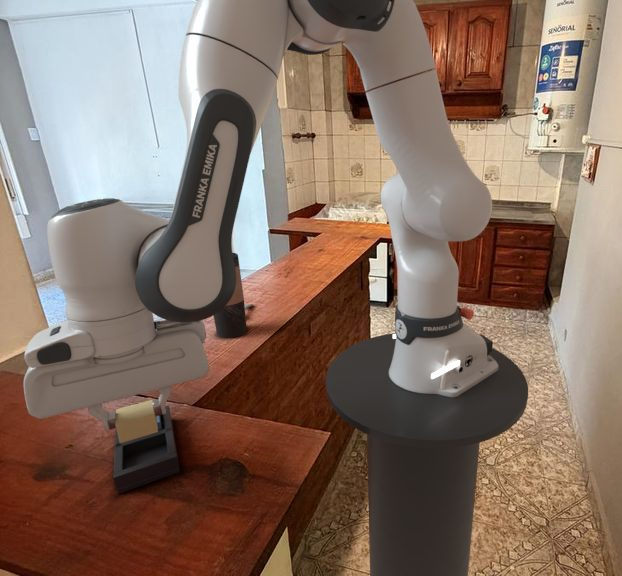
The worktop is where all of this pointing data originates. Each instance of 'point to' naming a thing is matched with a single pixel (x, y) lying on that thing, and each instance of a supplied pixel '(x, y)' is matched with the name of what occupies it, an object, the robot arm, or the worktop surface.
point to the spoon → (248, 306)
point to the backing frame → (146, 457)
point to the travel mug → (232, 310)
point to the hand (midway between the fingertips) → (136, 420)
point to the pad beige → (136, 421)
